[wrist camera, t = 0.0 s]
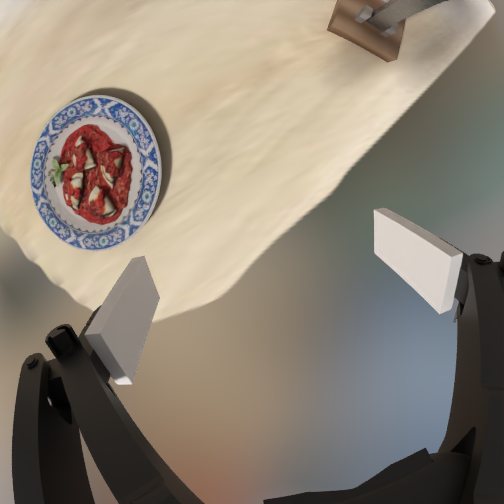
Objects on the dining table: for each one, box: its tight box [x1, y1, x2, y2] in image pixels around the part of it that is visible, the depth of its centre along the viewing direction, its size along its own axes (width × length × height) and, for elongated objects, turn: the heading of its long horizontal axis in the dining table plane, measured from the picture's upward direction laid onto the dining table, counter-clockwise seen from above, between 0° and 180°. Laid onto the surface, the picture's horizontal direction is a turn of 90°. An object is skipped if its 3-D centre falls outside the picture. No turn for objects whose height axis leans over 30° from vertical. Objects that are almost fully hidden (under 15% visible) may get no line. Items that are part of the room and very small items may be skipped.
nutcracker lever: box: [366, 0, 448, 31], centre depth 18 cm, size 4×4×19 cm
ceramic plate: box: [30, 95, 162, 251], centre depth 36 cm, size 26×26×3 cm
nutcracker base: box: [327, 0, 405, 62], centre depth 26 cm, size 18×12×7 cm, turn 162°
